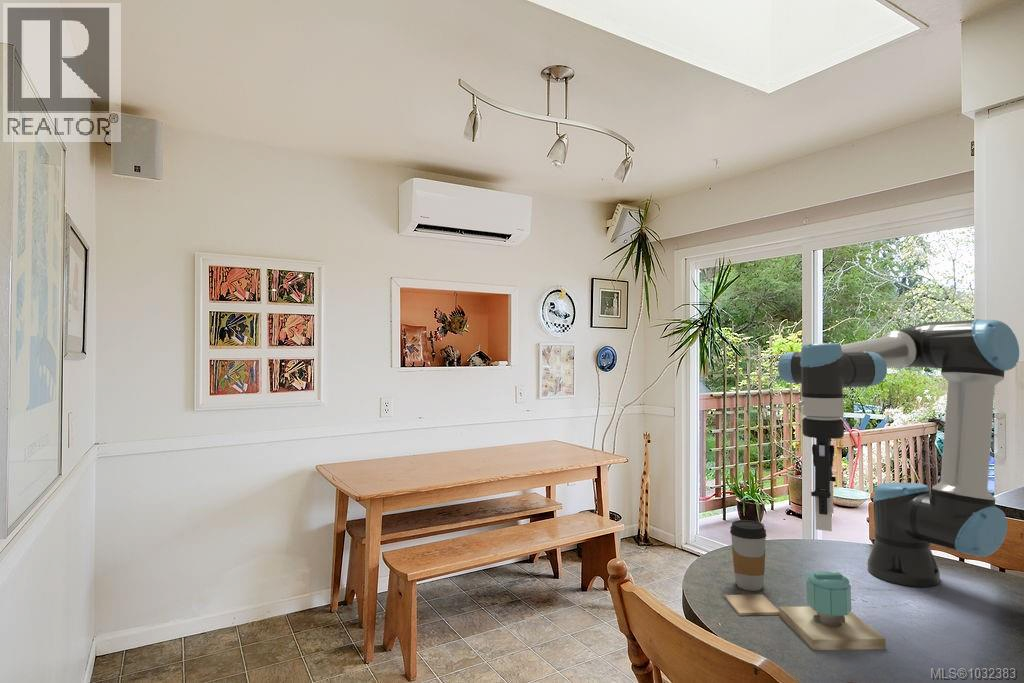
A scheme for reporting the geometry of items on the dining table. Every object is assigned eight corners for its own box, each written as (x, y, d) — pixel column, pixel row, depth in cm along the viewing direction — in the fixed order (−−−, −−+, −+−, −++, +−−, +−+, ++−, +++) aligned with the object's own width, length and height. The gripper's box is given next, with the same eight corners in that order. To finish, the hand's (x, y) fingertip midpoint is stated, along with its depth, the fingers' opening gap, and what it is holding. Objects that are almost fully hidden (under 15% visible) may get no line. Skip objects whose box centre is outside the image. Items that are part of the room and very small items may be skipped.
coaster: (762, 597, 133) (762, 594, 133) (780, 614, 124) (780, 612, 124) (724, 597, 133) (724, 595, 133) (739, 615, 124) (739, 612, 124)
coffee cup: (771, 593, 134) (770, 530, 135) (734, 591, 136) (733, 528, 136) (763, 579, 143) (762, 520, 143) (728, 577, 144) (727, 518, 144)
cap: (836, 598, 120) (835, 566, 120) (857, 615, 113) (856, 580, 113) (801, 599, 120) (800, 567, 120) (820, 615, 113) (819, 581, 113)
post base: (844, 615, 123) (842, 569, 123) (885, 649, 109) (884, 597, 109) (779, 616, 123) (778, 569, 124) (813, 650, 109) (811, 598, 110)
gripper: (806, 410, 130) (808, 503, 129) (797, 423, 108) (800, 535, 108) (844, 412, 126) (846, 507, 126) (842, 426, 105) (845, 541, 104)
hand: (825, 520), depth 117 cm, fingers open, 13 cm apart
